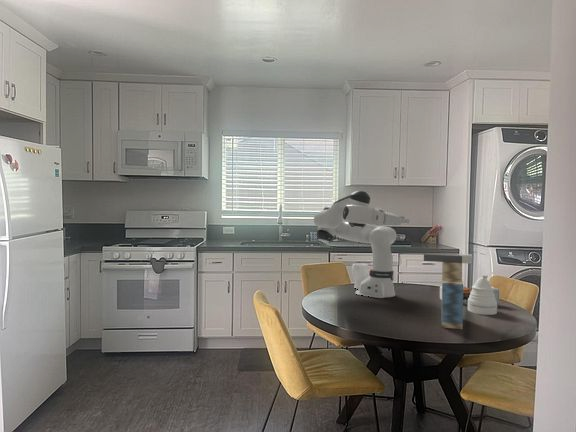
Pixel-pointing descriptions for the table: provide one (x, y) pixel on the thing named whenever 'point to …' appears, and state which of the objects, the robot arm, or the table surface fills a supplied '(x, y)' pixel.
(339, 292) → the table surface
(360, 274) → the cup
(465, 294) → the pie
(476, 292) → the honey pot
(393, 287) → the robot arm
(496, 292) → the medicine box
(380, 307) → the table surface
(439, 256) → the dark gray bar
